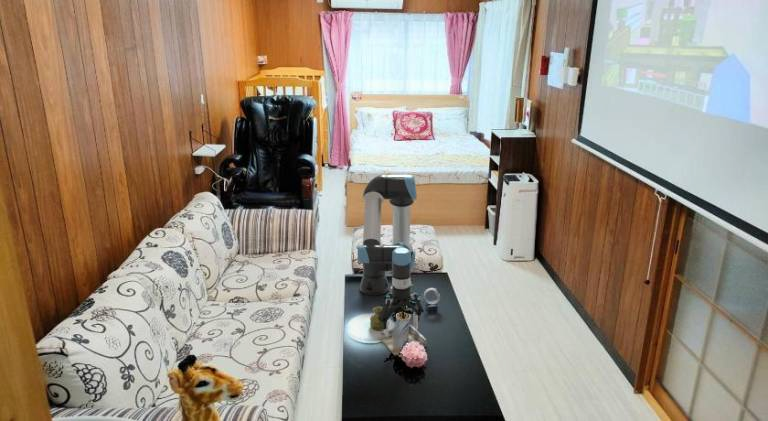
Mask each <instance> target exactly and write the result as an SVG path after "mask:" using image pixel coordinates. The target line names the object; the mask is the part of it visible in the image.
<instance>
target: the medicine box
mask: <svg viewBox="0 0 768 421" xmlns="http://www.w3.org/2000/svg"><path fill="white" fill-rule="evenodd" d="M409 325H410V322H409V321H405V320H399V321H398V322H397V323H396V324H395V325H394V326H393V327H392V339H393V347H397V348H402V347H403V346H404V345H405V344H406V342H407V341H408V339H409Z"/></svg>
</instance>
